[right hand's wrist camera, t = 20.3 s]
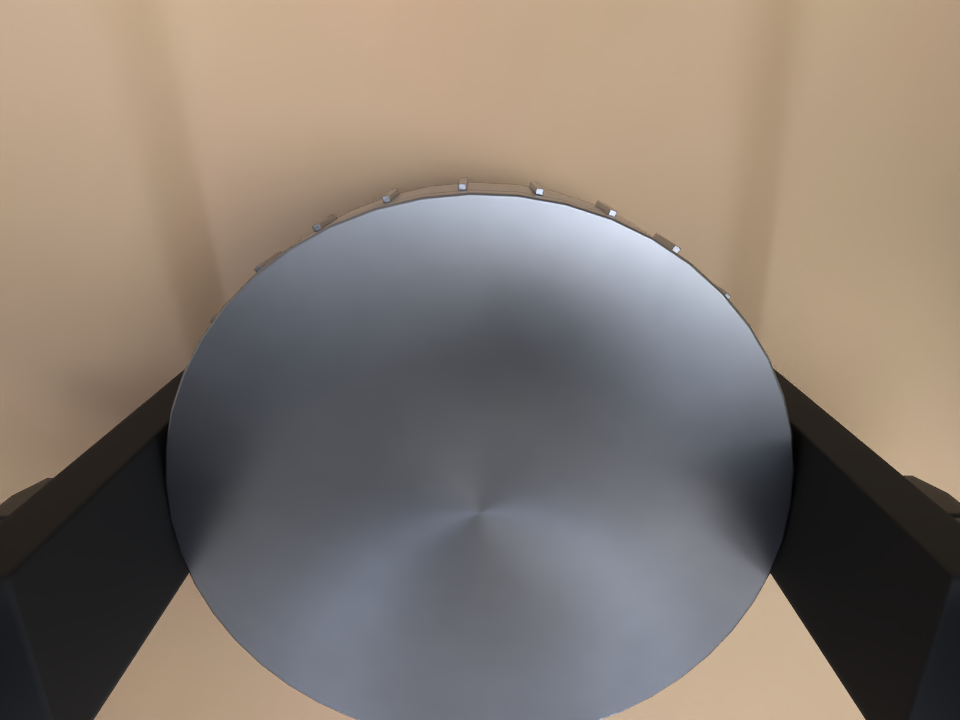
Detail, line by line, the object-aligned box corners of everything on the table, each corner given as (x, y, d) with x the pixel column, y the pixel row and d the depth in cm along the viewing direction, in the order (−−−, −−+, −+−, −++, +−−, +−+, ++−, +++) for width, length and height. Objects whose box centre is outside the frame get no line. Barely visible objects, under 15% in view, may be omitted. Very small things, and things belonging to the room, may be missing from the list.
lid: (760, 643, 13) (797, 711, 12) (283, 701, 14) (259, 773, 12) (754, 129, 10) (805, 129, 8) (121, 233, 10) (58, 251, 9)
